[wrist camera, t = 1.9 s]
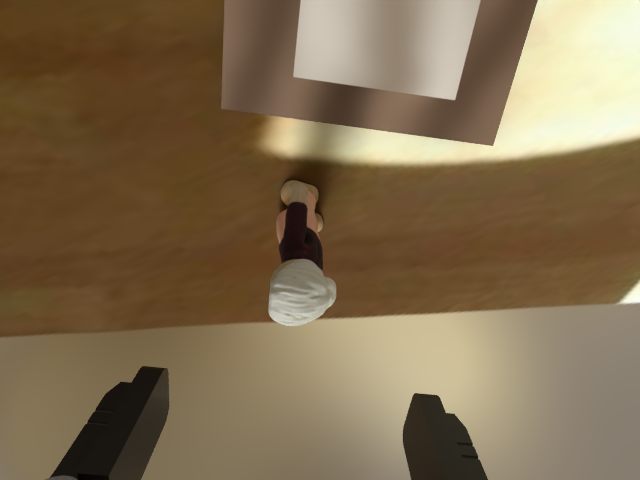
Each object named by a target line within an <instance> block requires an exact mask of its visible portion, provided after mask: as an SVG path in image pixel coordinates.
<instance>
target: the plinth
mask: <svg viewBox="0 0 640 480" xmlns="http://www.w3.org/2000/svg"><path fill="white" fill-rule="evenodd" d="M537 1H538V0H225V4H224V37H223V69H222V102H221V109H228V110H235V111H243V112H250V113H257V114H265V115H272V116H279V117H286V118H294V119H301V120H308V121H316V122H323V123H330V124H337V125H345V126H352V127H359V128H367V129H374V130H381V131H388V132H396V133H403V134H410V135H418V136H425V137H432V138H439V139H447V140H454V141H461V142H469V143H476V144H483V145H491V146H493V144H494V141H495V138H496V134H497V131H498V128H499V124H500V121H501V118H502V115H503V111H504V108H505V105H506V102H507V98H508V95H509V92H510V89H511V85H512V82H513V79H514V76H515V72H516V69H517V66H518V63H519V59H520V56H521V53H522V50H523V46H524V43H525V40H526V37H527V33H528V30H529V27H530V23H531V20H532V17H533V14H534V10H535V7H536V4H537Z"/></svg>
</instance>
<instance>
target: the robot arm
mask: <svg viewBox="0 0 640 480" xmlns="http://www.w3.org/2000/svg"><path fill="white" fill-rule="evenodd" d="M168 410H169V380H168V369H167V368H157V367H146V366H143V367H141V368H140V370H139V371H138V373H137V374H136V377H135V378H134V379H133V381H132V383H127V382H120V383H119V384H118V385H116V386H115V387H114V388H113V389H111V390H110V391H109V392H108V393H106V394H105V396H104V397H103V399H102V400H101V402H100V403H99V405H98V406H97V408H96V411H95V412H94V413H93V414H92V415H91V417H90V418H89V420H88V423H87V424H86V425H85V426H84V427H83V429H82V431H81V432H80V434H79V435H78V437H77V438H76V440H75V441H74V443H73V444H72V446H71V447H70V449H69V450H68V452H67V453H66V455H65V456H64V458H63V459H62V461H61V462H60V464H59V465H58V467H57V468H56V470H55V471H54V473H53V474H52V475H51V477H50V478H48V479H45V480H141V478H142V476H143V474H144V471H145V469H146V467H147V464H148V462H149V460H150V457H151V455H152V453H153V450H154V448H155V446H156V443H157V441H158V439H159V437H160V434H161V432H162V430H163V427H164V425H165V422H166V419H167V415H168ZM472 444H473V443H472V441H471V439H470V436H469V434H468V431H467V429H466V427H465V426H464V425H463V424H462V423H461V422H460V420H459V419H458V418H457V417H456V416H455V414H449V413H445V410H444V407H443V405H442V402H441V400H440V398H439V396H437V395H428V394H418V393H415V394H414V395H413V397H412V401H411V404H410V407H409V410H408V414H407V417H406V421H405V424H404V428H403V445H404V449H405V454H406V458H407V462H408V467H409V471H410V476H411V480H488V479H487V476H486V474H485V472H484V469H483V467H482V464H481V462H480V460H478V455H477V453H476V450H475V448H474V447H473V445H472Z"/></svg>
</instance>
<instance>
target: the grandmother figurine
mask: <svg viewBox="0 0 640 480" xmlns="http://www.w3.org/2000/svg"><path fill="white" fill-rule="evenodd" d="M318 196H319V193H318V190H317V188H316V187H314V186H312V185H309V184H306V183H303V182H299V181H295V180H291V181H288V182H286V183H285V184H284V185H283V187H282V189H281V199H282V201H283V202H284V203H285V204H286V205H287V206H288V207H287V209H286V210H284V211H283V212H281V213H280V214H279V216H278V218H277V237H278V240H279V244H280V245H279V251H280V255H281V261H282V264H281V265H279V266H278V267H277V268H276V270H275V271H274V273H273V275H272V277H271V281H270V293H269V315H270V316H271V318H272V319H273V320H274V321H276V322H278V323H280V324H283V325H288V326H296V325H302V324H305V323H308V322H310V321H312V320H314V319H316V318H318V317H319V316H321V315H322V314H323V313H324V312H325V310H326V309H327V308H329V307H330V306H331V305H332V304H333V302H334V301H335V299H336V284H335V282H334V281H333V280H332V279H331V278H328V277H324V275H323V272H322V269H323V260H322V247H321V243H320V238H319V235H318V232H319V231H320V230H321V229H322V228H323V220H322V217H321V216H320V215H319V214H317V213H315V206H316V202H317V201H318Z"/></svg>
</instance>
